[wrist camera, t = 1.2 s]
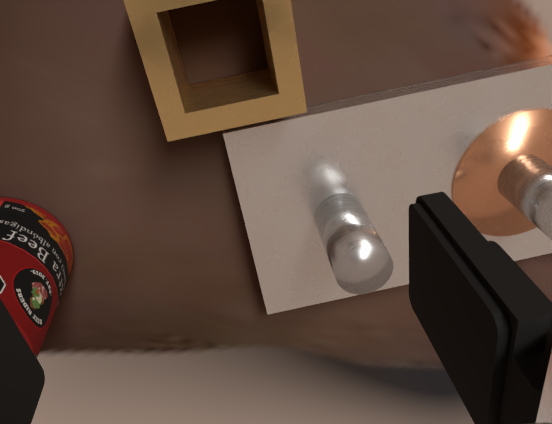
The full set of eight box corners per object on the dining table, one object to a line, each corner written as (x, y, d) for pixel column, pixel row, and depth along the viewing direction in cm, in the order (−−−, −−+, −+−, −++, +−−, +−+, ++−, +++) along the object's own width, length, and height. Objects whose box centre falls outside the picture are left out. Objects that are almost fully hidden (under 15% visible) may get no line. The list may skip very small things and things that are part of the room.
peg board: (222, 124, 29) (226, 180, 23) (612, 42, 29) (725, 74, 23) (265, 300, 36) (277, 381, 30) (578, 232, 37) (658, 298, 30)
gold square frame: (135, -23, 25) (119, -12, 20) (270, -50, 25) (283, -46, 20) (173, 109, 28) (167, 141, 24) (292, 84, 28) (307, 112, 24)
